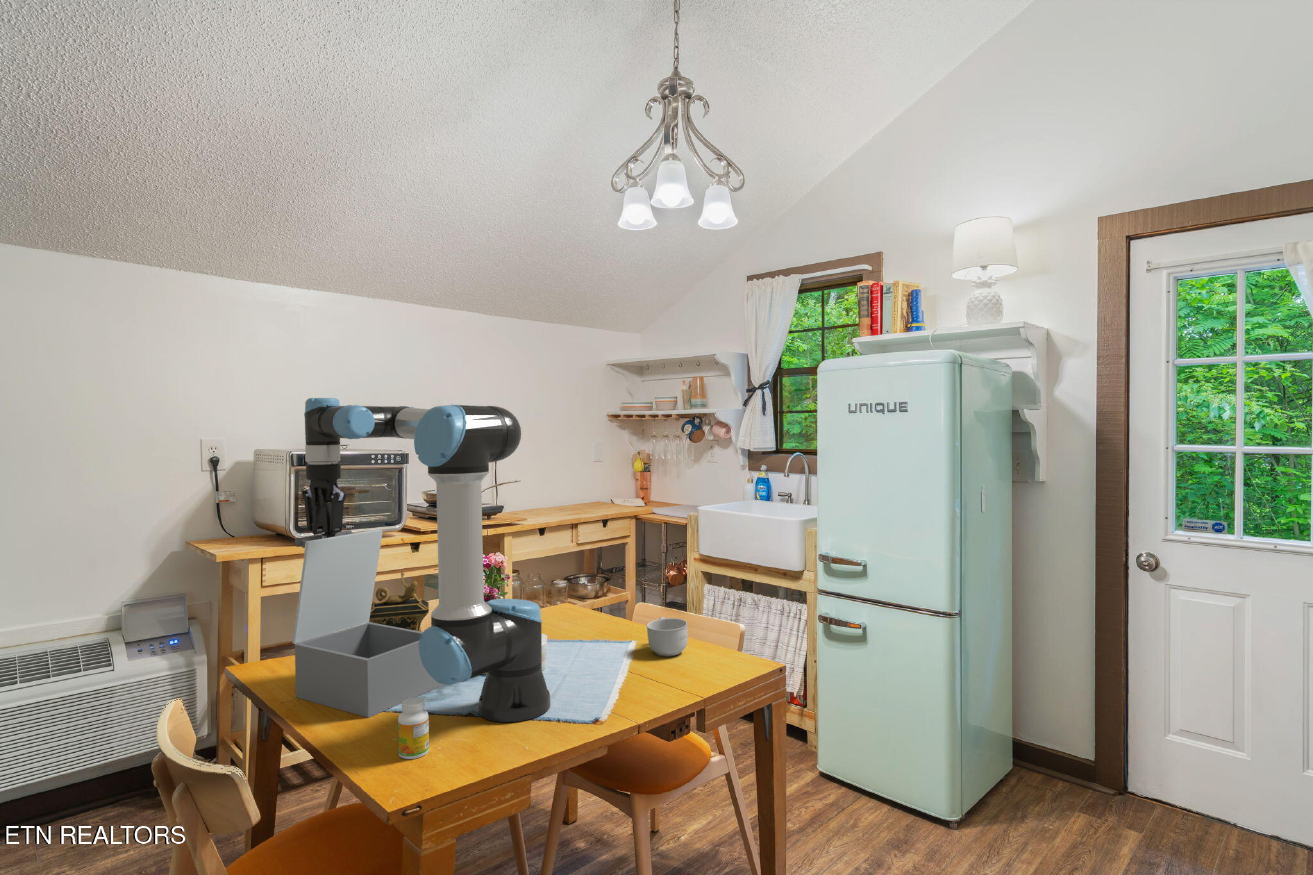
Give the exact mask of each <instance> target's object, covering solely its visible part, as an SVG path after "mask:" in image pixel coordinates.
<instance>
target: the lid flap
mask: <svg viewBox="0 0 1313 875" xmlns="http://www.w3.org/2000/svg"><path fill="white" fill-rule="evenodd" d="M383 531H384V530H383V529H381V528H379V529H373V530H368V531H367V530H366V531H363V532H362V531H361V532H356V533H355V532H353V531H352V530H351V529H348V530H342V531H341V532H338V533H336V534H335V537H330V538H324V539H322V536H323V535H322V534H321V535H314V534H313V535H310V536H304V537H303V536H302V537H297V538H295V540H294V545H295V547H297V548H300V547H301V548H303V549H304V552H303V553H304V555H303V563H302V569H301V577H300V578H301V579H300V584H299V585H300V586H299V592H298V600H297V605H296V606H297V607H296V615H295V620H294V629H293V636H292V644H294V645H295V644H298V643H301V642H304V641H308V640H311V639H314V638H318V637H321V636H324V635H328V634H331V633H335V632H338V631H341V630H345V629H348V628H351V627H355V626H358V625H361V624H365V623H368V622H369V618H370V612H371V605H372V603H373V602H372V599H373V597H374V591H375V587H376V586H375V584H376V577H377V571H378V565H379V558H380V551H381V547H382V546H381V545H382V538H383ZM373 600H374V599H373Z"/></svg>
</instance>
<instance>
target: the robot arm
mask: <svg viewBox="0 0 1313 875" xmlns="http://www.w3.org/2000/svg"><path fill="white" fill-rule="evenodd" d="M304 404H305V405H304V415H303V416H304V431H305V432H304V434H305V435H304V436H305V446H304V447H305V451H304V452H305V462H306V463H307V464H306V466H305V479H306V480H308V481H310V483H309V486H308V489H304V490H302V491H301V495H302V498H303V500H304V501H303V502H304V511H305V512H304V513H305V520H306V529H307V531H308V532H311V533H312V535H313V536H314V535H321V534H322V535H323V536H322V539H324V538H330V537H335V534H336V533H338V532H341V531H343V520H344V509H345V508H344V506H345V500H346V497H347V492H346V491H341V489H339V485H338V480H339V479H341V477H342V472H341V470H342V469H341V467H342V466H341V464H340V463H339V462H340V461H341V439H348V440H358V439H359V440H360V439H373V438H374V439H375V438H377V439H378V438H379V439H380V438H396V439H405V440H406V439H409V440H413V446H414V447H413V448H414V453H415V454H416V455H418V456H417V458H418V460H419V462H420V463H422V464H423V465H425V466H426V467H427V474H428V476H429V477H430V478H431V479H432V480H433V481H434V482H435V484H436V485H435V486H436V488H435V489H436V522H437V524H436V528H437V530H436V532H437V570H438V571H437V573H438V575H437V577H438V578H437V579H438V581H437V582H438V605H437V606H436V607H435V608H434V609H433V610H432V612H431V613H430V615H431V616H430V621H431V622H430V624H431V625H430V626H429V627H428V628H425V630H423V631H422V632H423V633H422V635H421V636H420V639H419V654H420V658H421V661H422V664H423V666H424V668H425V670H426V671H427V672H428V674H429V675H430V676H431V677H432V678H433V679H434V680H435V681H437V682H438V683H440V685H445V686H451V685H454V684H455V685H456V684H459V683H464V682H467V681H469V680H471V679H473V678H475V677H479V676H481V675H482V674H483V675H484V674H486V675H485V678H484V682H483V684H482V687H481V688H482V689H481V692H480V695H479V698H478V704H477V706H478V714H479V716H481V717H482V718H483V719H485V720H488V721H493V722H498V723H499V722H501V723H516V722H523V721H527V720H532V719H534V718H537V717H540V716H542V715H543V714H545V713H547V711H549V709H550V707H551V693H550V692H549V689H548V686H547V682H546V678H545V676H544V673H543V669H542V668H543V667H542V664H543V663H542V659H543V658H542V653H543V652H542V648H543V647H542V646H543V644H542V643H543V642H542V636H543V635H542V634H543V633H542V630H543V629H542V628H543V627H542V623H543V620H542V614H541V613H542V612H541V607H540V606H539V604H538V603H536V602H534V601H532V600H528V599H527V600H526V599H521V598H520V599H517V598H496V599H490V600H488V601H485V598H484V595H485V593H484V557H483V556H484V554H483V553H484V552H483V550H484V548H483V547H484V546H483V544H484V543H483V506H482V504H483V501H482V499H483V498H482V497H483V496H482V492H483V491H482V482H483V480H484V478H486V477H487V476H488V475H489V473H490V469H489V468H490V467H489V466H490V463H495V462H500V461H502V460H505V459H507V458H508V457H510V456H511V455H513V454H514V453H515V452H516V450H517V449H518V448H519V446H520V443H521V439H522V427H521V425H520V422H519V419H518V418H516V416H515V415H514V414H513V413H512V412H511V411H509V410H508V409H506V408H504V407H500V406H496V405H462V404H449V405H447V404H446V405H437V406H434V407H432V408H419V407H413V406H406V405H399V406H391V405H390V406H387V405H386V406H381V405H380V406H379V405H377V406H376V405H375V406H374V405H373V406H372V405H358V404H353V405H352V404H348V405H341V403H340V400H339V399H338V398H335V397H310V398H307V399H306V400H305V402H304Z"/></svg>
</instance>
